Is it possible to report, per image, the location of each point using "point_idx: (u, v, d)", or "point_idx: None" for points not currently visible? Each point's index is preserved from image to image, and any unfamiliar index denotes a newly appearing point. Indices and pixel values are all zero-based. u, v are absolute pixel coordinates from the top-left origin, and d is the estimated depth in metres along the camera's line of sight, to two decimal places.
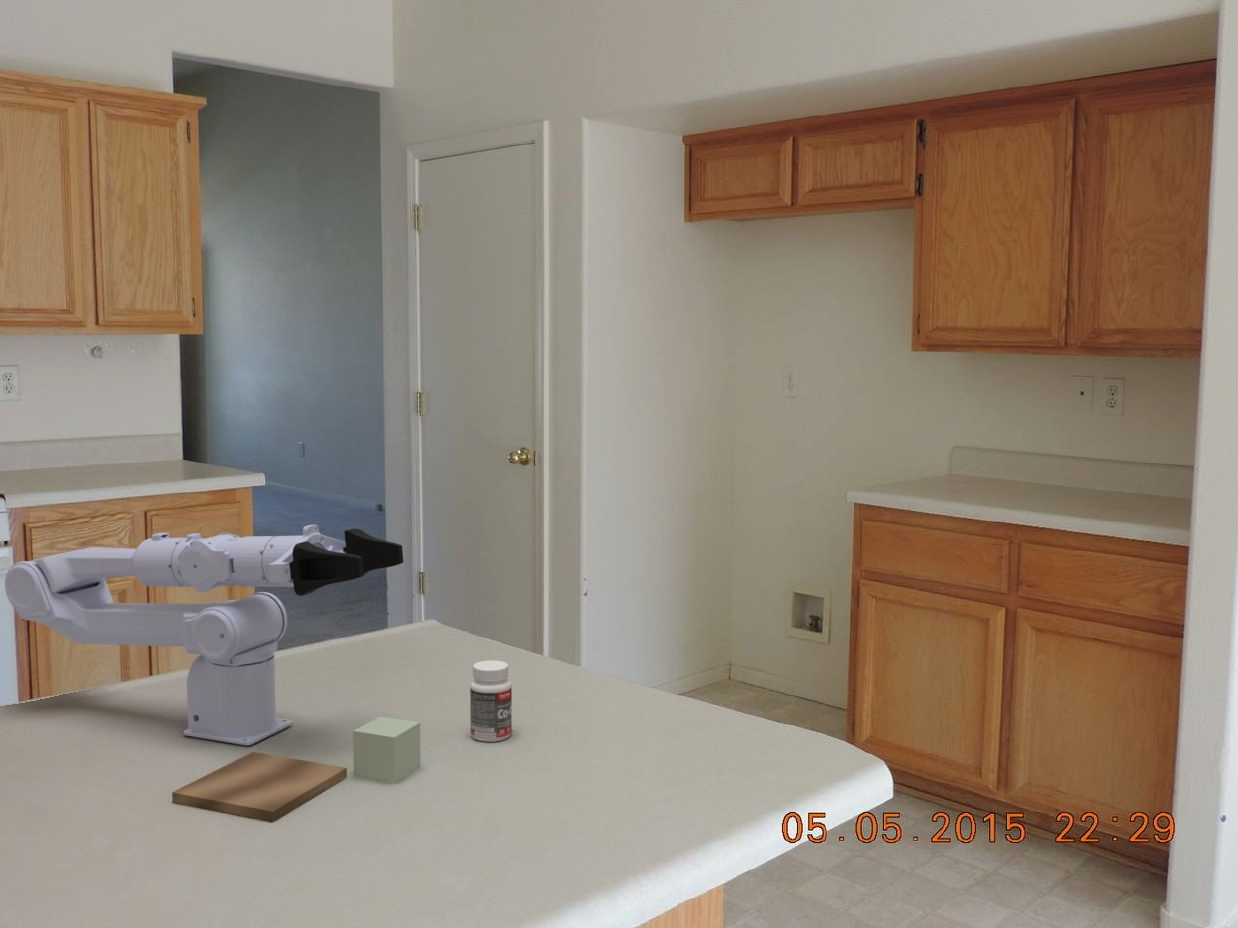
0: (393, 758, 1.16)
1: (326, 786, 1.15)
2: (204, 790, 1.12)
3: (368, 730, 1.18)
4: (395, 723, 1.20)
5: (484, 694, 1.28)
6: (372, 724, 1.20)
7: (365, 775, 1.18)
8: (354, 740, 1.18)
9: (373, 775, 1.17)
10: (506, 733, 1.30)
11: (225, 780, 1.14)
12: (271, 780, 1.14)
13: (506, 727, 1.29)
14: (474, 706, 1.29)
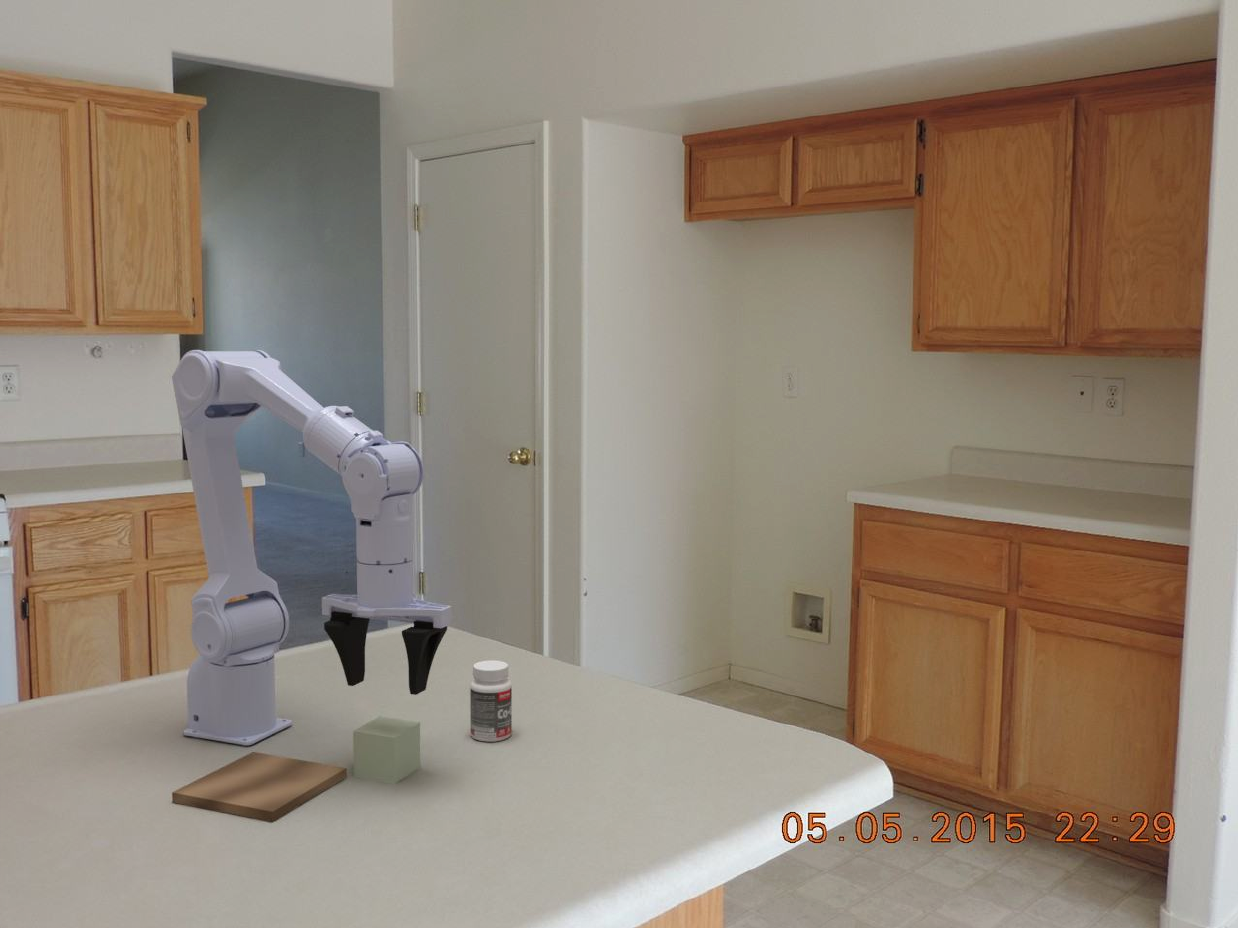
0: (393, 758, 1.16)
1: (326, 786, 1.15)
2: (204, 790, 1.12)
3: (368, 730, 1.18)
4: (395, 723, 1.20)
5: (484, 694, 1.28)
6: (372, 724, 1.20)
7: (365, 775, 1.18)
8: (354, 740, 1.18)
9: (373, 775, 1.17)
10: (506, 733, 1.30)
11: (225, 780, 1.14)
12: (271, 780, 1.14)
13: (506, 727, 1.29)
14: (474, 706, 1.29)
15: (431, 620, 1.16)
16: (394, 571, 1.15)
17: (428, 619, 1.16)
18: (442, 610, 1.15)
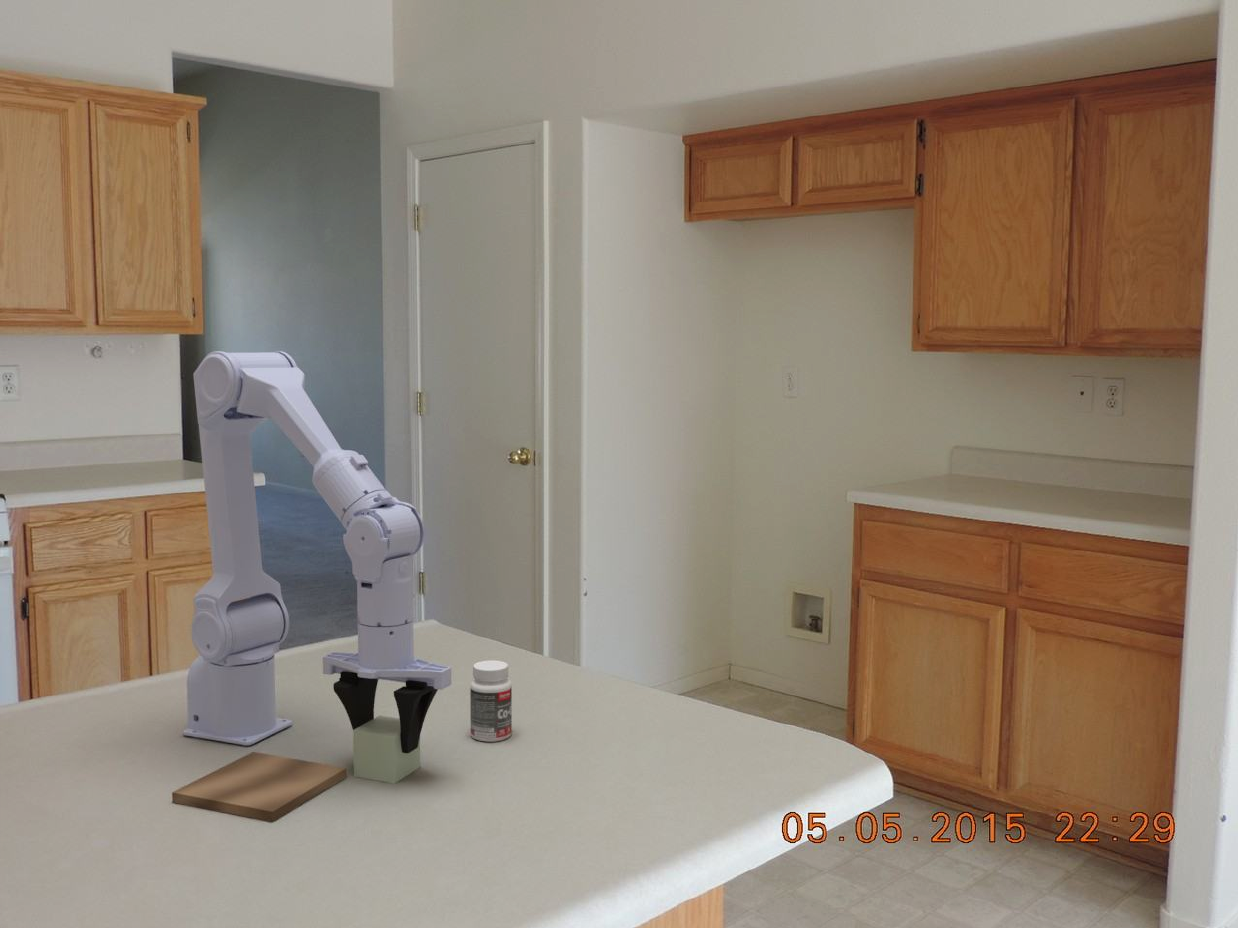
0: (393, 757, 1.16)
1: (326, 786, 1.15)
2: (204, 790, 1.12)
3: (368, 729, 1.18)
4: (395, 722, 1.20)
5: (484, 694, 1.28)
6: (372, 723, 1.20)
7: (365, 774, 1.18)
8: (354, 739, 1.18)
9: (373, 774, 1.17)
10: (506, 733, 1.30)
11: (225, 780, 1.14)
12: (271, 780, 1.14)
13: (506, 727, 1.29)
14: (474, 706, 1.29)
15: (431, 681, 1.16)
16: (395, 633, 1.16)
17: (428, 680, 1.16)
18: (442, 672, 1.15)
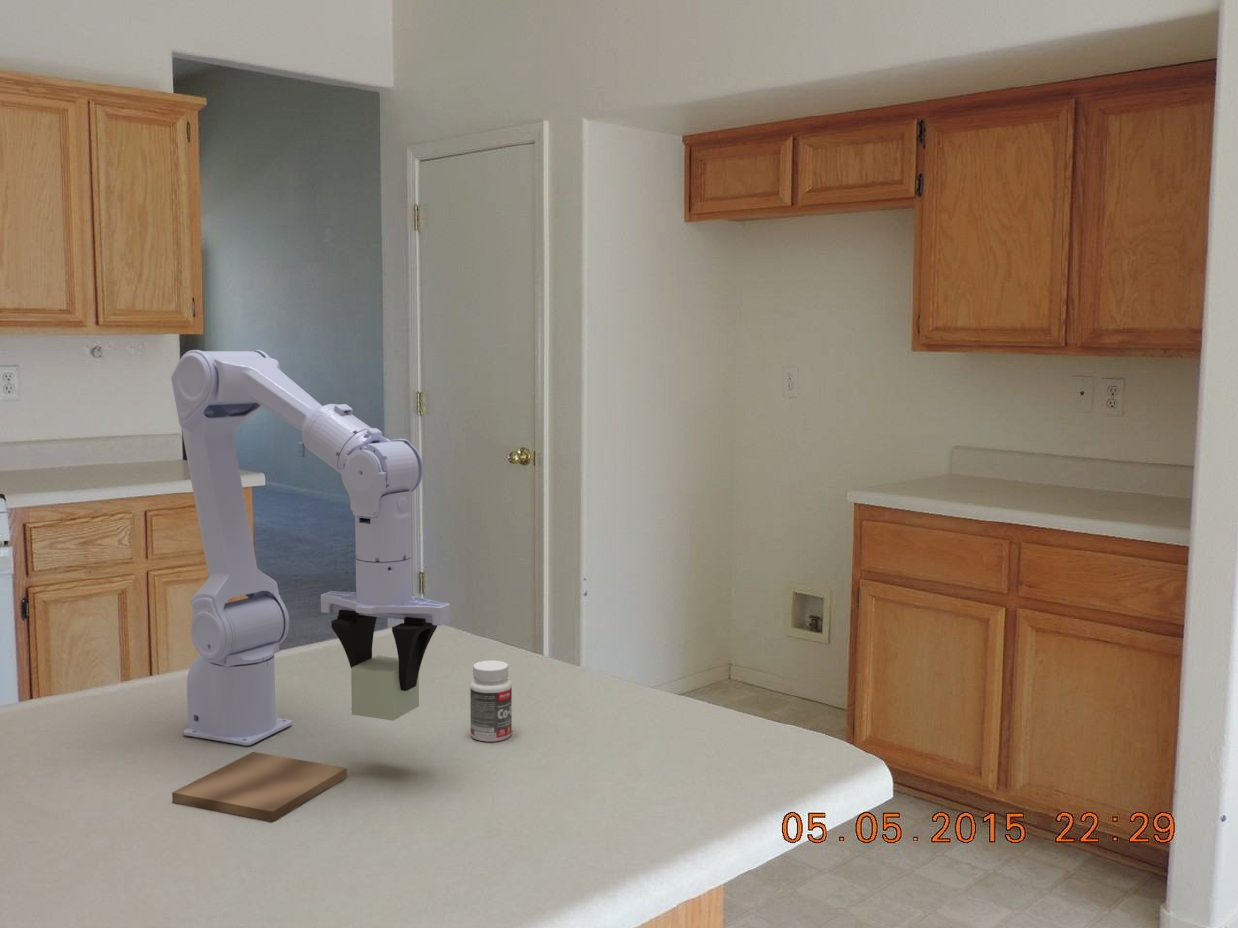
0: (391, 695, 1.16)
1: (326, 786, 1.15)
2: (204, 790, 1.12)
3: (366, 667, 1.17)
4: (393, 661, 1.19)
5: (484, 694, 1.28)
6: (370, 662, 1.19)
7: (363, 712, 1.17)
8: (352, 677, 1.17)
9: (371, 712, 1.17)
10: (506, 733, 1.30)
11: (225, 780, 1.14)
12: (271, 780, 1.14)
13: (506, 727, 1.29)
14: (474, 706, 1.29)
15: (430, 617, 1.16)
16: (393, 568, 1.15)
17: (427, 616, 1.16)
18: (441, 607, 1.15)
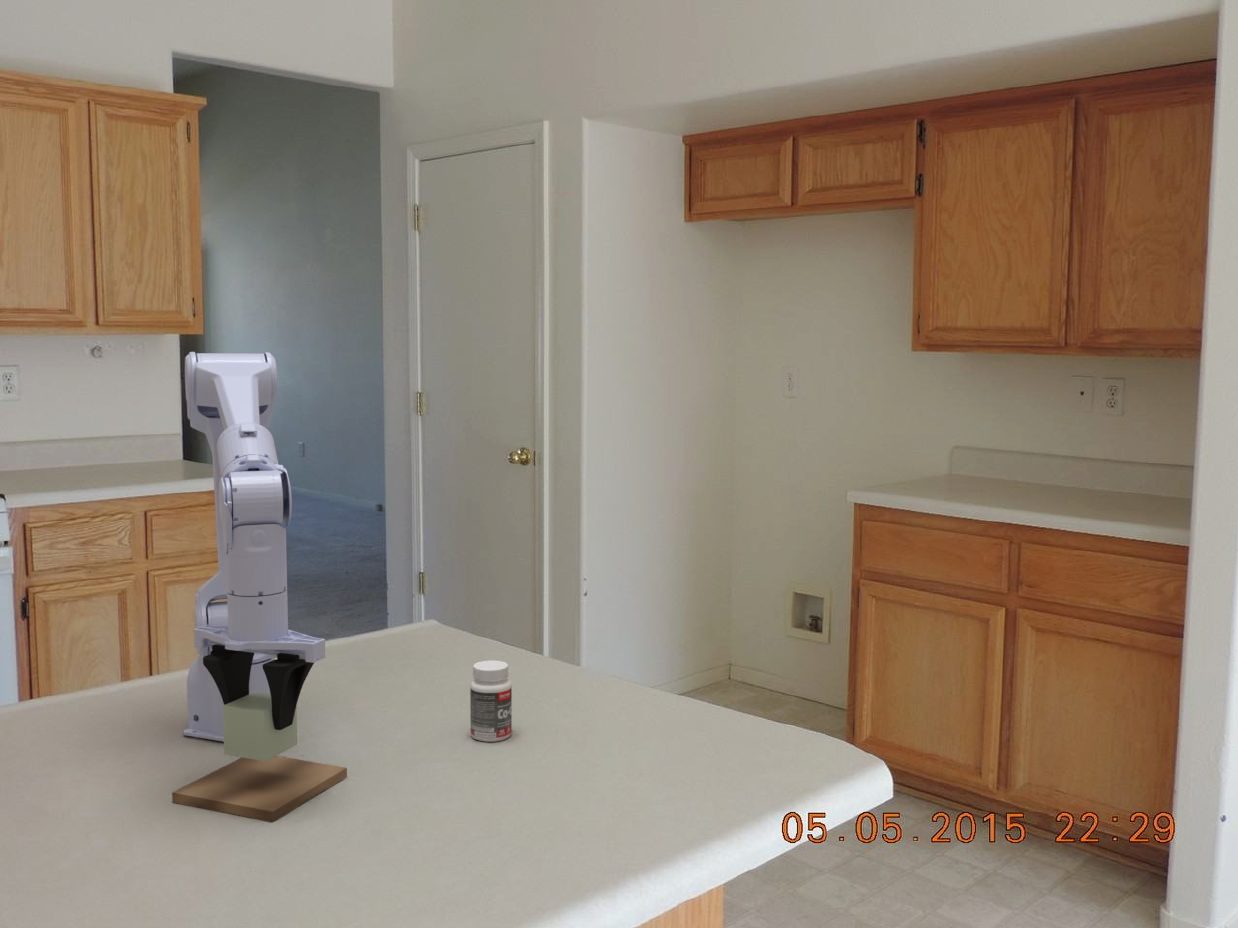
0: (263, 734, 1.11)
1: (326, 786, 1.15)
2: (204, 790, 1.12)
3: (239, 705, 1.12)
4: (269, 698, 1.15)
5: (484, 694, 1.28)
6: (245, 699, 1.14)
7: (235, 752, 1.12)
8: (224, 715, 1.12)
9: (243, 752, 1.12)
10: (506, 733, 1.30)
11: (225, 780, 1.14)
12: (271, 780, 1.14)
13: (506, 727, 1.29)
14: (474, 706, 1.29)
15: (304, 654, 1.11)
16: (264, 603, 1.10)
17: (301, 653, 1.11)
18: (314, 644, 1.10)
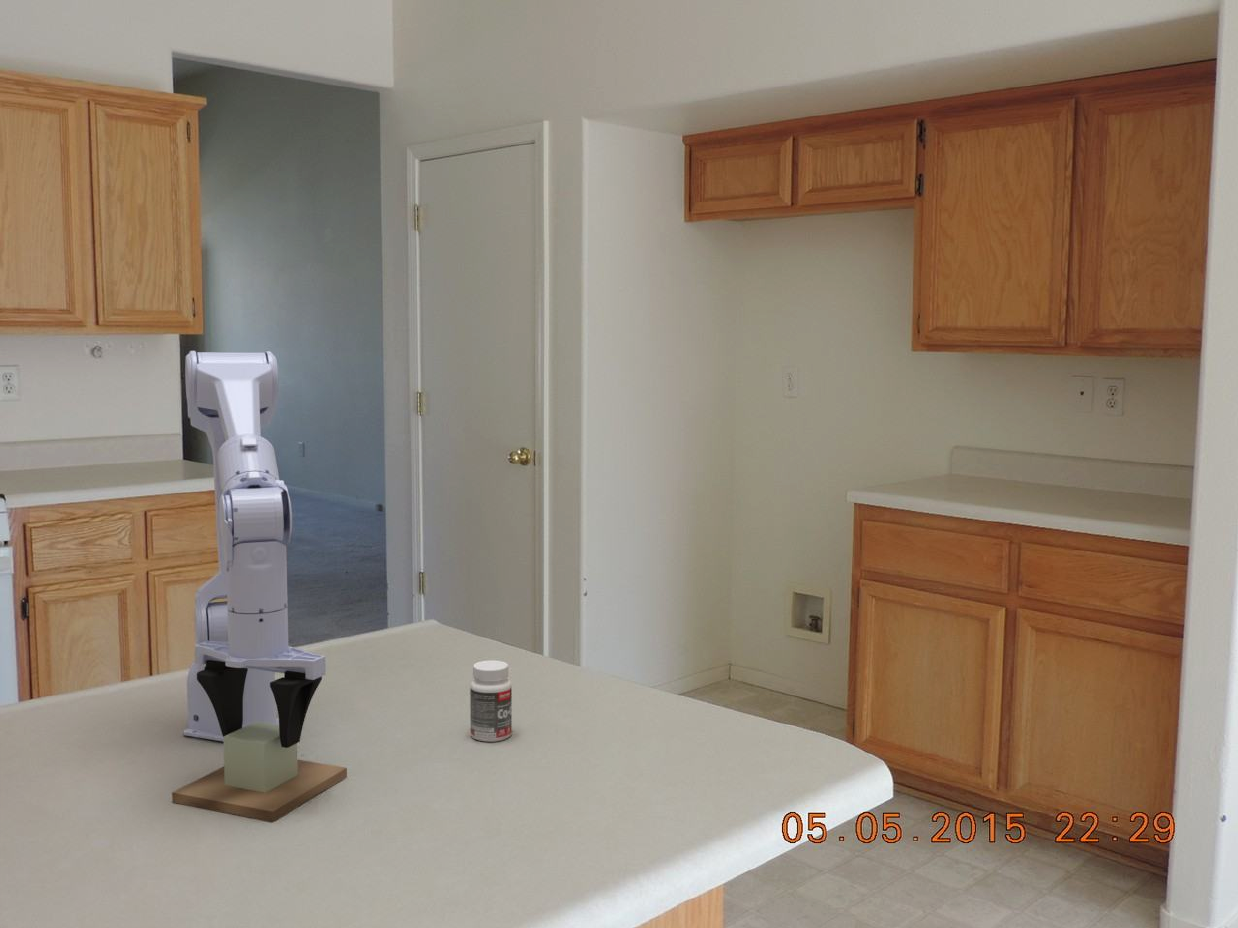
0: (263, 766, 1.11)
1: (326, 786, 1.15)
2: (204, 790, 1.12)
3: (239, 736, 1.13)
4: (270, 728, 1.15)
5: (484, 694, 1.28)
6: (246, 730, 1.14)
7: (236, 783, 1.13)
8: (224, 746, 1.13)
9: (244, 783, 1.12)
10: (506, 733, 1.30)
11: None
12: None
13: (506, 727, 1.29)
14: (474, 706, 1.29)
15: (304, 671, 1.11)
16: (265, 620, 1.10)
17: (301, 670, 1.11)
18: (314, 661, 1.10)
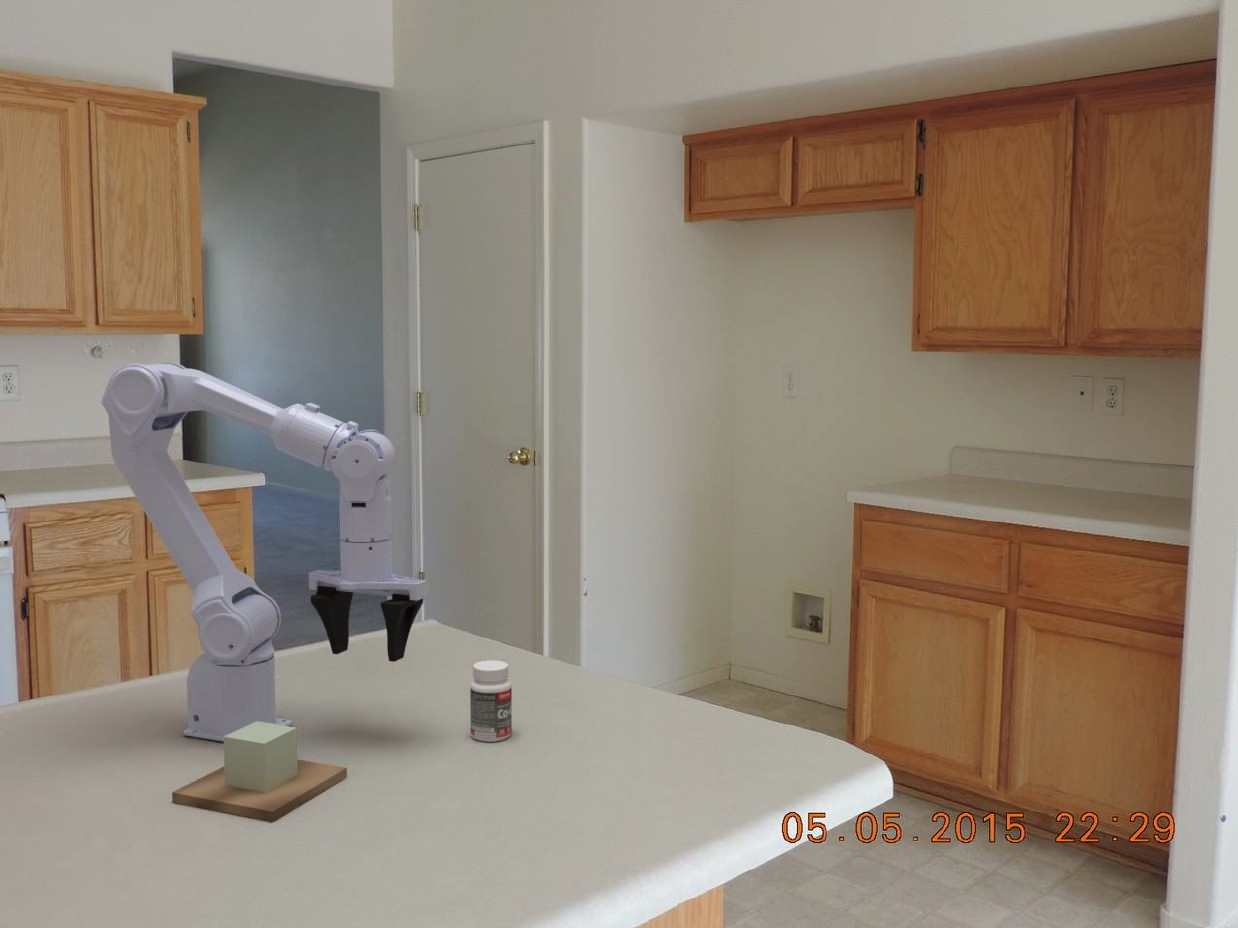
0: (263, 766, 1.11)
1: (326, 786, 1.15)
2: (204, 790, 1.12)
3: (239, 736, 1.13)
4: (270, 728, 1.15)
5: (484, 694, 1.28)
6: (246, 730, 1.14)
7: (236, 783, 1.13)
8: (224, 746, 1.13)
9: (244, 783, 1.12)
10: (506, 733, 1.30)
11: None
12: None
13: (506, 727, 1.29)
14: (474, 706, 1.29)
15: (408, 593, 1.26)
16: (374, 548, 1.26)
17: (405, 592, 1.27)
18: (417, 584, 1.25)
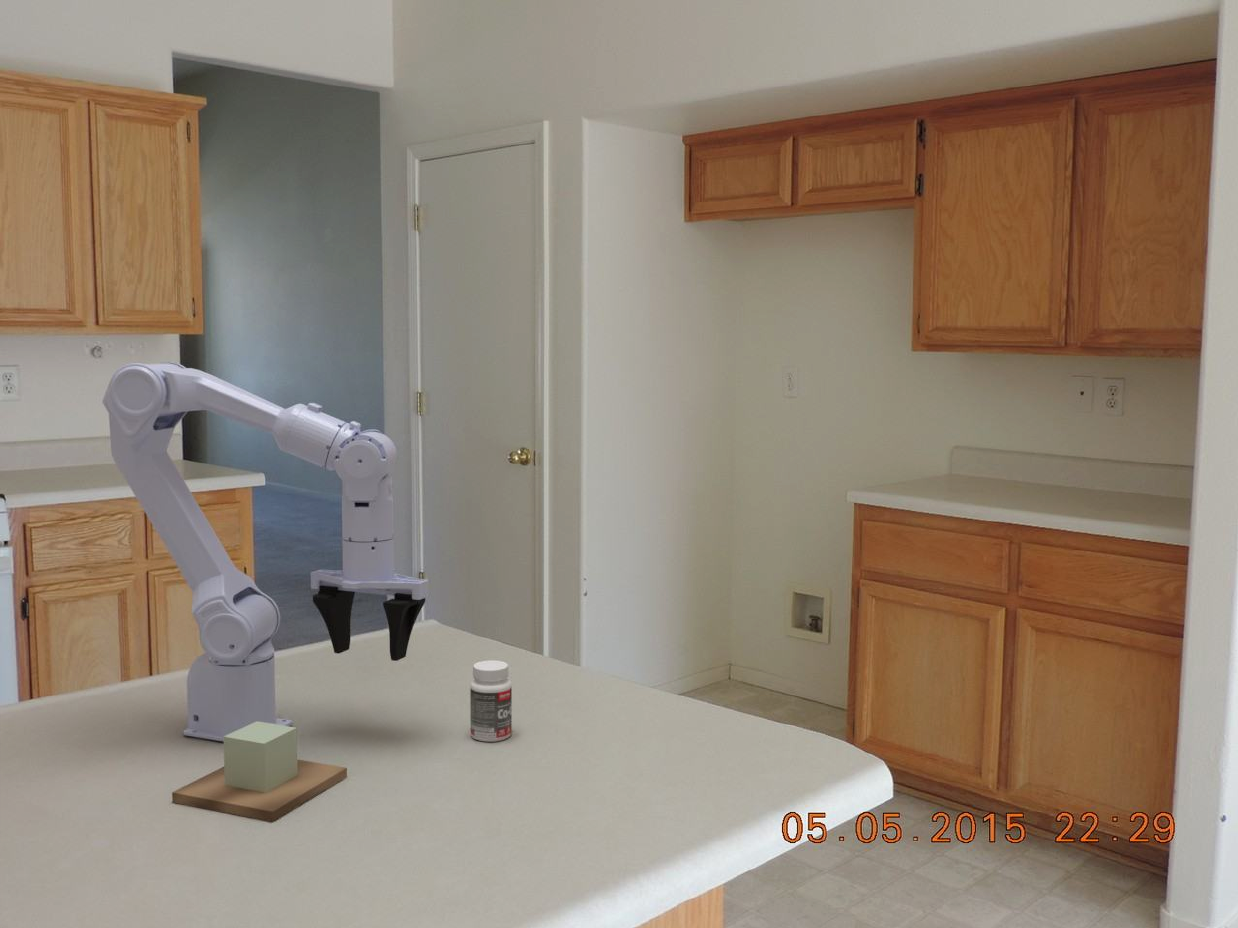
0: (263, 766, 1.11)
1: (326, 786, 1.15)
2: (204, 790, 1.12)
3: (239, 736, 1.13)
4: (270, 728, 1.15)
5: (484, 694, 1.28)
6: (246, 730, 1.14)
7: (236, 783, 1.13)
8: (224, 746, 1.13)
9: (244, 783, 1.12)
10: (506, 733, 1.30)
11: None
12: None
13: (506, 727, 1.29)
14: (474, 706, 1.29)
15: (410, 593, 1.27)
16: (376, 548, 1.26)
17: (407, 592, 1.27)
18: (420, 583, 1.26)
